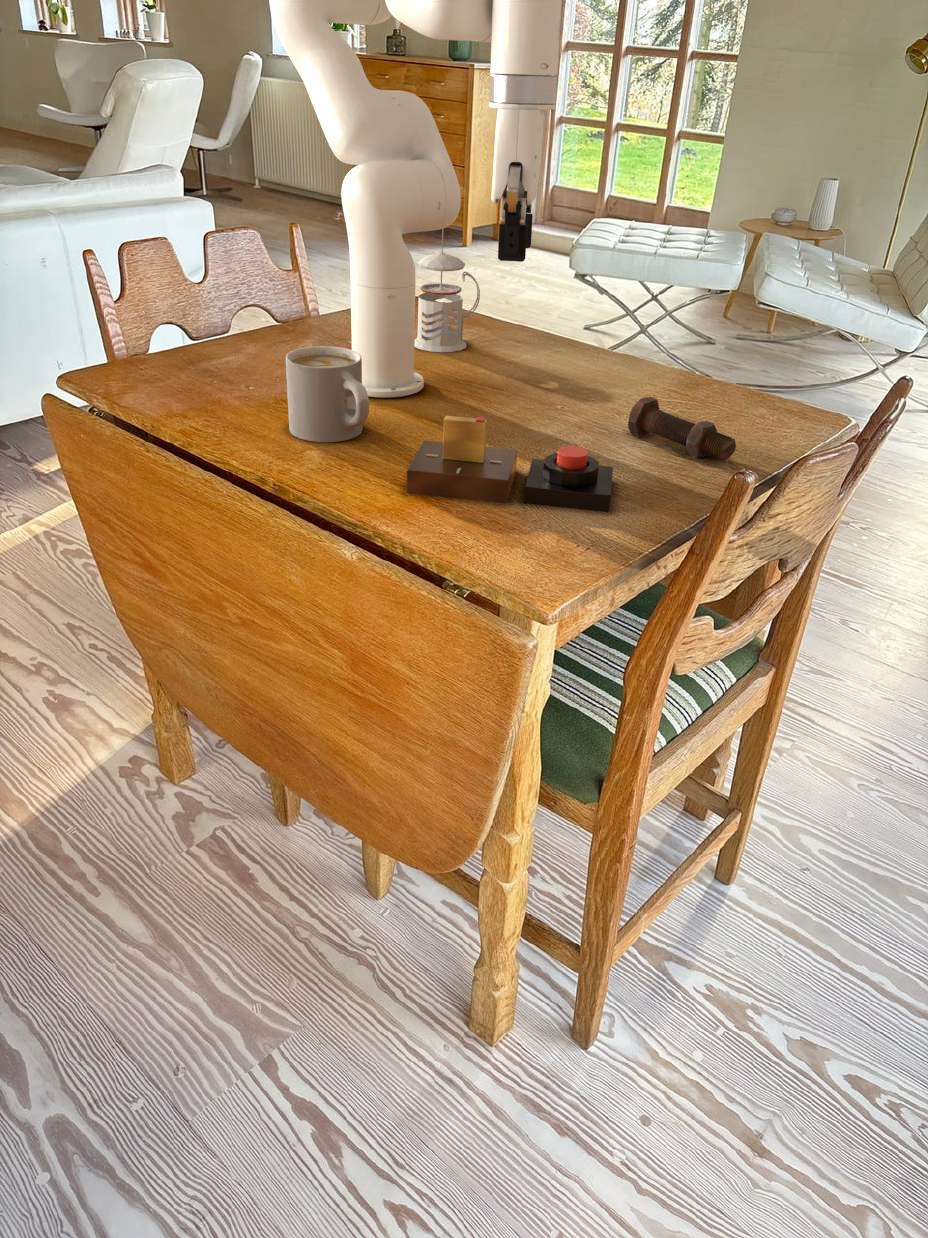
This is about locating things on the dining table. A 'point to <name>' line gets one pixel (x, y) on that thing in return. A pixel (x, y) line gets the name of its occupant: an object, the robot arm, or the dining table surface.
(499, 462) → the plate
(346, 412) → the coffee mug
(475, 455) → the gold slab
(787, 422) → the dining table surface
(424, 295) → the french press
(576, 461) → the red button
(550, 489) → the button box
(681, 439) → the bolt
